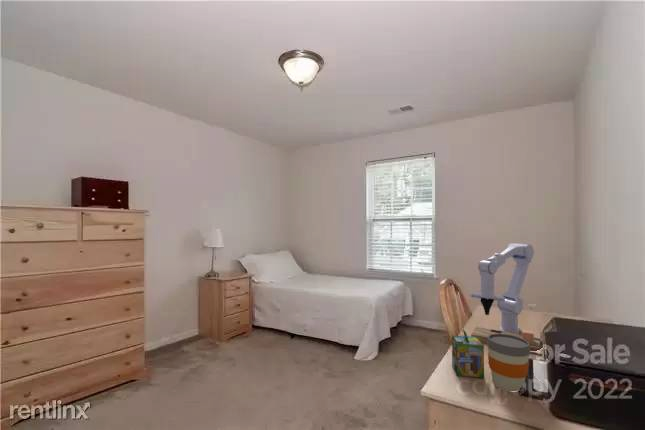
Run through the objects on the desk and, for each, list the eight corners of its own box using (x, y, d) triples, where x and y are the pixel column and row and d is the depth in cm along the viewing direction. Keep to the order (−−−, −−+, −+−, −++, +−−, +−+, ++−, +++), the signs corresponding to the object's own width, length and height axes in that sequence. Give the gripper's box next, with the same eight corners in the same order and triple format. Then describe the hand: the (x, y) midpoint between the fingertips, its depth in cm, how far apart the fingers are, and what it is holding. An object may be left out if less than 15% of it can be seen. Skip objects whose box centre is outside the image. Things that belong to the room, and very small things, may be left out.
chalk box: (484, 379, 110) (484, 336, 110) (456, 376, 112) (456, 334, 112) (477, 366, 119) (477, 327, 119) (451, 364, 121) (451, 325, 121)
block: (522, 338, 141) (522, 329, 141) (533, 340, 139) (533, 331, 139) (522, 341, 138) (522, 332, 138) (533, 343, 136) (533, 333, 136)
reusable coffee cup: (537, 388, 104) (537, 342, 105) (518, 400, 98) (518, 351, 98) (498, 372, 115) (499, 330, 115) (479, 381, 108) (479, 337, 108)
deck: (476, 331, 156) (476, 320, 156) (542, 344, 141) (542, 332, 141) (471, 339, 146) (471, 327, 146) (542, 355, 130) (542, 341, 130)
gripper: (469, 285, 152) (468, 313, 152) (503, 289, 144) (503, 319, 144) (472, 282, 158) (471, 310, 158) (505, 286, 150) (505, 315, 150)
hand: (487, 314), depth 151 cm, fingers closed
